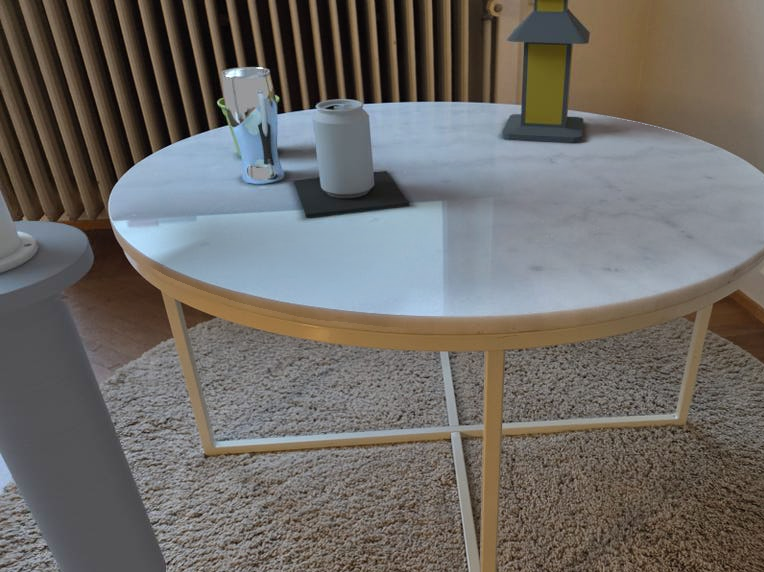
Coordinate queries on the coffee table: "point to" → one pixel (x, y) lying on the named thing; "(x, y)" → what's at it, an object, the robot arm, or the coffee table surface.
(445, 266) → the coffee table surface
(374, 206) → the mat
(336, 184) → the can
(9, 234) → the robot arm
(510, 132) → the lantern
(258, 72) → the beer glass
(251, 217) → the coffee table surface
